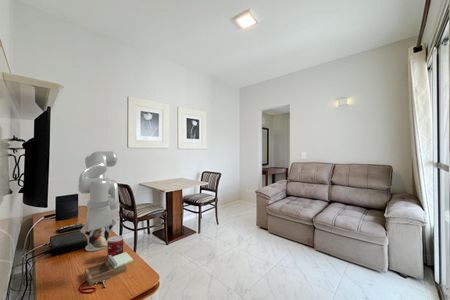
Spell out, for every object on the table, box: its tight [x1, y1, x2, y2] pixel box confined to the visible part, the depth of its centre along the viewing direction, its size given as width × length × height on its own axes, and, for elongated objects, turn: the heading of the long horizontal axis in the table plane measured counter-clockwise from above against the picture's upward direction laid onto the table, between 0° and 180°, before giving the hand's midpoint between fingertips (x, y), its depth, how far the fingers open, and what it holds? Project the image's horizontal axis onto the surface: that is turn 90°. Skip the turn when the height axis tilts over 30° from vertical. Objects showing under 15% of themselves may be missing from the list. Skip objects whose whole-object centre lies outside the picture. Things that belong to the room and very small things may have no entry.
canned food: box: [107, 235, 124, 257], centre depth 108 cm, size 8×8×11 cm
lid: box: [107, 251, 134, 268], centre depth 98 cm, size 11×9×2 cm
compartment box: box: [84, 259, 127, 287], centre depth 93 cm, size 12×15×3 cm
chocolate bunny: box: [92, 228, 108, 248], centre depth 92 cm, size 6×8×10 cm
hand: (99, 241), depth 92 cm, fingers closed on chocolate bunny, 5 cm apart
